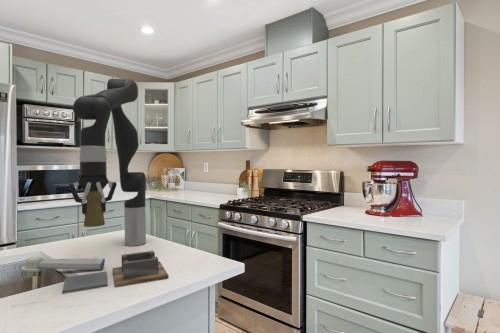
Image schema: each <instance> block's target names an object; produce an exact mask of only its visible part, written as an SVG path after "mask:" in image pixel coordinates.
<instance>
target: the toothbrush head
mask: <svg viewBox="0 0 500 333" xmlns="http://www.w3.org/2000/svg"><path fill="white" fill-rule="evenodd" d="M105 261H106V259H105V258H98V257H97V258H96V256H94V257H92V258H91V257H90V258H89V257H88V258H85V257H83V258H81V257H80V258H41V257H37V256H34V257H33V256H32V257H28V258H27V259H26V260H25V262H24V265H23V266H22V267H20V271H21V277H23V278H24V277H26V278H28V279H31V278H33V277H39V276H41V275H42V274H43V270H44V269H51V270H77V271H78V270H80V271H81V270H82V271H91V272H92V271H103V270H104V268H105Z"/></svg>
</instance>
